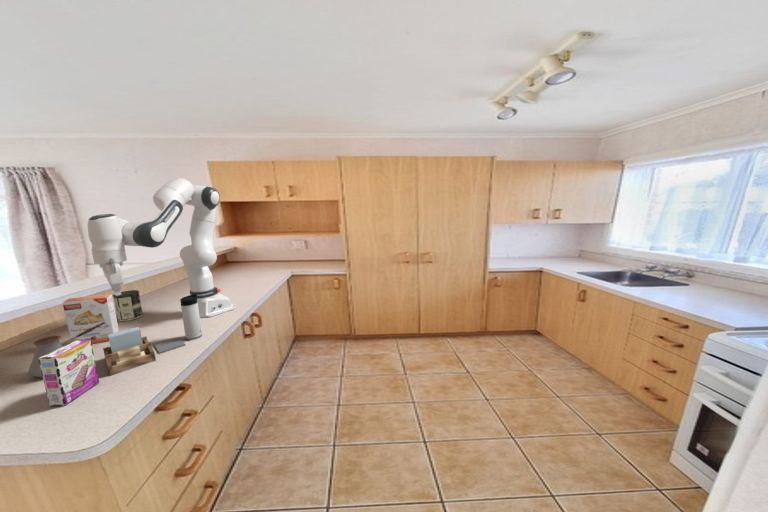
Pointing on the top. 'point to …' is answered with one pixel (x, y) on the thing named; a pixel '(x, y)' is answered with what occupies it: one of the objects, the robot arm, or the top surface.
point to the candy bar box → (69, 372)
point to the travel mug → (191, 317)
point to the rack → (127, 365)
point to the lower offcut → (131, 358)
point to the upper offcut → (129, 353)
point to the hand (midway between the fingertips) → (116, 292)
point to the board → (125, 339)
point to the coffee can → (128, 305)
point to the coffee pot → (50, 349)
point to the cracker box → (91, 317)
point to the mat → (169, 345)
